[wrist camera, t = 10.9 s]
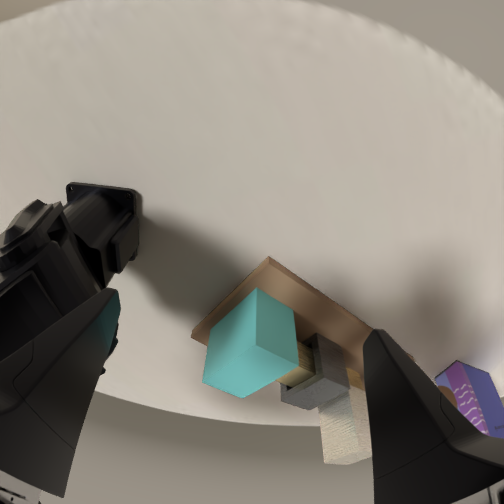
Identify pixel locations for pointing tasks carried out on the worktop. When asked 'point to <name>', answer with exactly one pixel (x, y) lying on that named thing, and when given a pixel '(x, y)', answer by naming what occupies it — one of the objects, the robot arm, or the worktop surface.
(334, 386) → the sleeve
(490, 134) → the worktop surface
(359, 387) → the white-capped post
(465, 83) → the worktop surface
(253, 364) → the socket block
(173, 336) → the worktop surface
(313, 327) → the base board
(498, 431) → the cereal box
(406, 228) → the worktop surface
